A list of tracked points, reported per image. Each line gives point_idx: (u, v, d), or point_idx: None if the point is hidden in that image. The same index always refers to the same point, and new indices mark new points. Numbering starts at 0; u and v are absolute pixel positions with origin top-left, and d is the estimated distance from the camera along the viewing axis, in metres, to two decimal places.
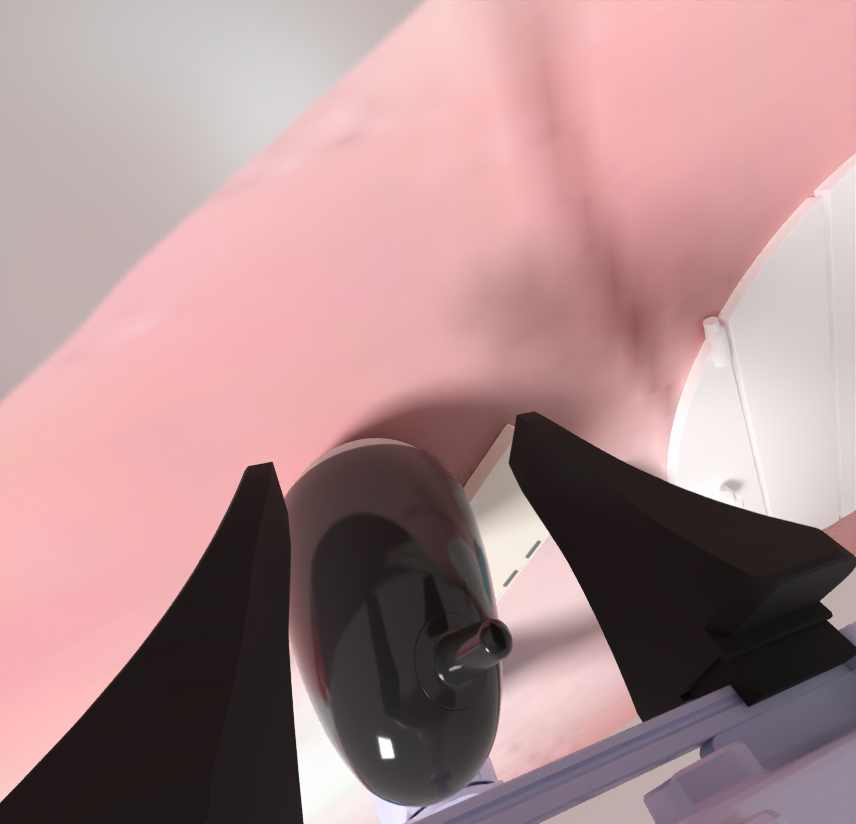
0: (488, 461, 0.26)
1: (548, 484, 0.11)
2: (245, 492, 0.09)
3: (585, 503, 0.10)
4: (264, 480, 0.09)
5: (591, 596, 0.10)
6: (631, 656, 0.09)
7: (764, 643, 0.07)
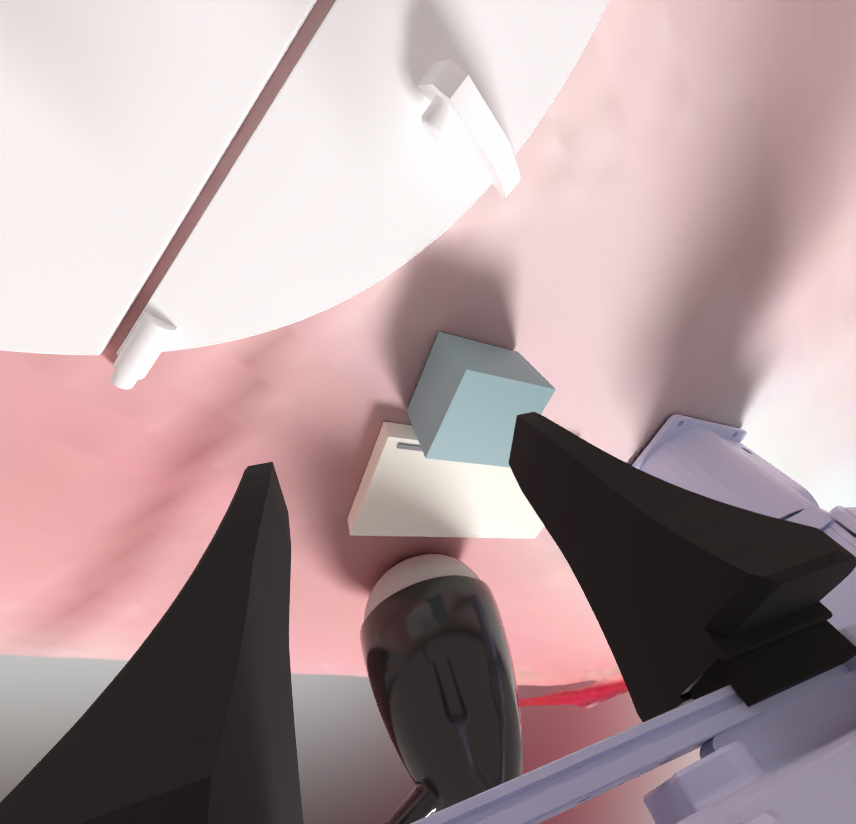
0: None
1: (548, 483, 0.11)
2: (245, 492, 0.09)
3: (585, 503, 0.10)
4: (264, 480, 0.09)
5: (590, 596, 0.10)
6: (631, 655, 0.09)
7: (764, 643, 0.07)
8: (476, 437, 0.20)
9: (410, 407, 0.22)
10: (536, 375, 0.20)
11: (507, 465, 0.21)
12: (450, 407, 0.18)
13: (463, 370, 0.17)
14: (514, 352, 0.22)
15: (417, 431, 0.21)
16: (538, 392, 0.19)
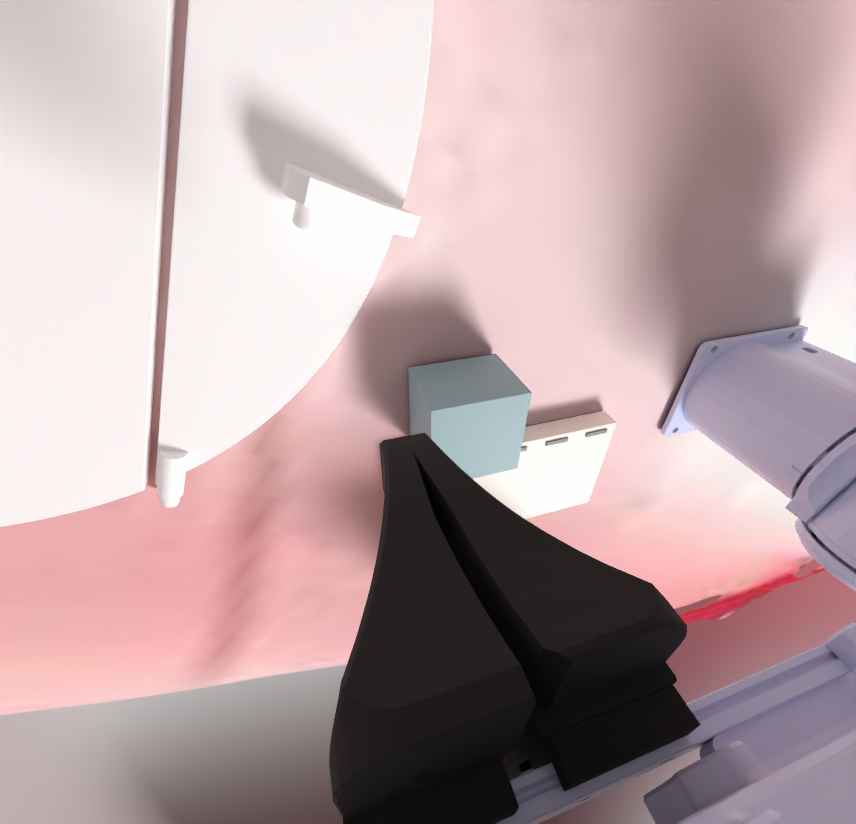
0: None
1: None
2: (396, 461, 0.10)
3: (450, 539, 0.09)
4: (407, 451, 0.10)
5: None
6: None
7: (587, 716, 0.06)
8: (470, 457, 0.20)
9: None
10: (512, 381, 0.20)
11: (515, 467, 0.22)
12: None
13: (430, 411, 0.18)
14: (491, 356, 0.22)
15: None
16: (514, 401, 0.19)
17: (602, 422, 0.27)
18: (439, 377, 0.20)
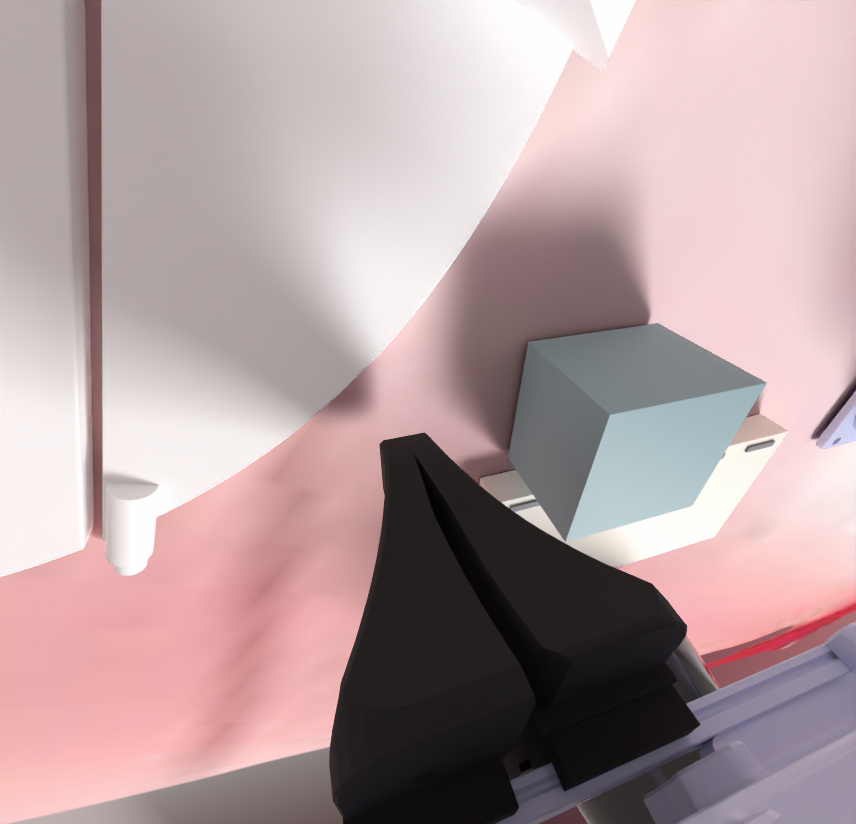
0: None
1: None
2: (396, 461, 0.10)
3: (450, 539, 0.09)
4: (407, 451, 0.10)
5: None
6: None
7: (587, 716, 0.06)
8: (638, 492, 0.12)
9: (513, 453, 0.15)
10: (717, 364, 0.12)
11: (689, 504, 0.14)
12: (591, 473, 0.11)
13: (604, 415, 0.10)
14: (653, 327, 0.14)
15: (536, 494, 0.14)
16: (736, 398, 0.11)
17: (768, 431, 0.19)
18: (589, 357, 0.12)
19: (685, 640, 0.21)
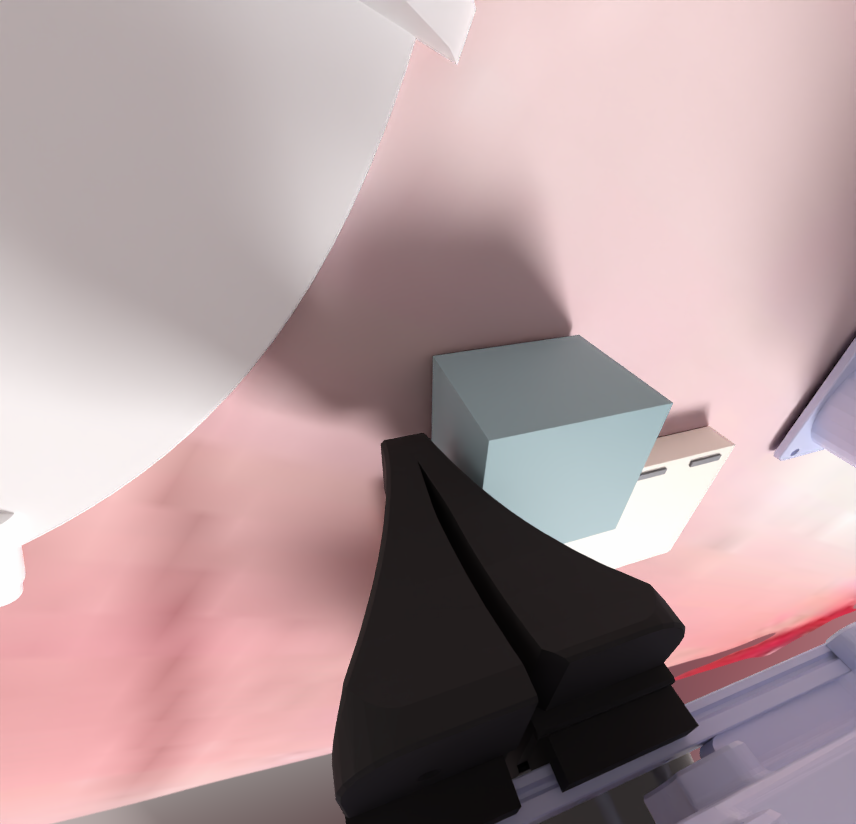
0: None
1: None
2: (397, 461, 0.10)
3: (448, 539, 0.09)
4: (408, 451, 0.10)
5: None
6: None
7: (585, 717, 0.06)
8: (546, 517, 0.11)
9: None
10: (626, 381, 0.11)
11: (612, 528, 0.13)
12: None
13: (485, 441, 0.09)
14: (573, 339, 0.13)
15: None
16: (641, 419, 0.10)
17: (713, 444, 0.18)
18: (491, 373, 0.11)
19: None
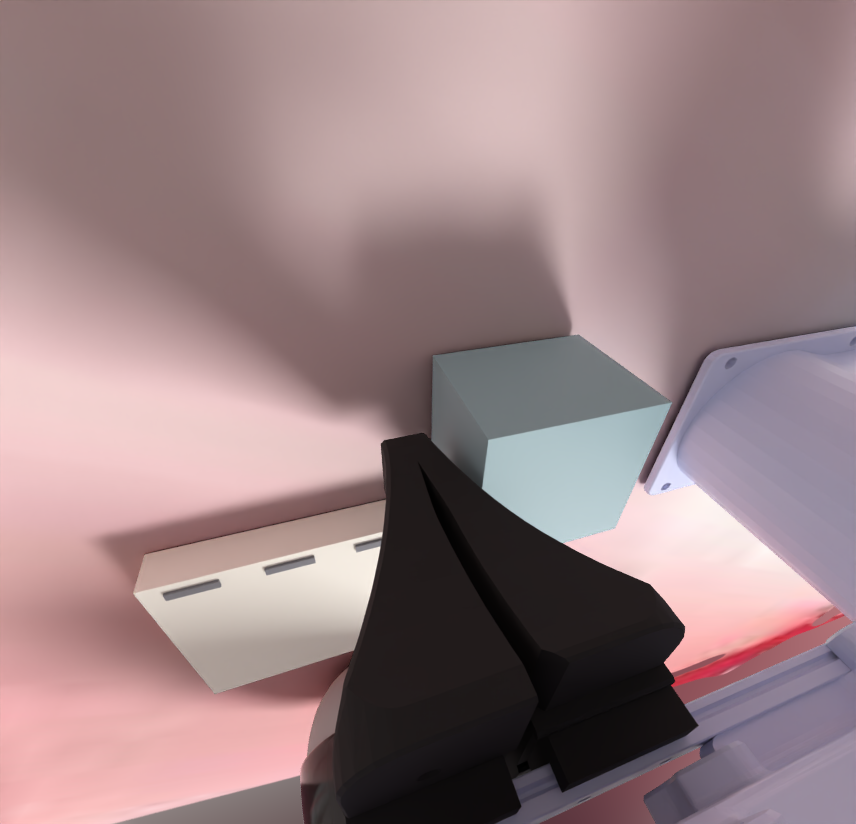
0: None
1: None
2: (397, 461, 0.10)
3: (448, 539, 0.09)
4: (408, 451, 0.10)
5: None
6: None
7: (585, 717, 0.06)
8: (546, 516, 0.11)
9: None
10: (625, 380, 0.11)
11: (611, 527, 0.13)
12: None
13: (484, 440, 0.09)
14: (572, 339, 0.13)
15: None
16: (640, 418, 0.10)
17: None
18: (491, 373, 0.11)
19: None
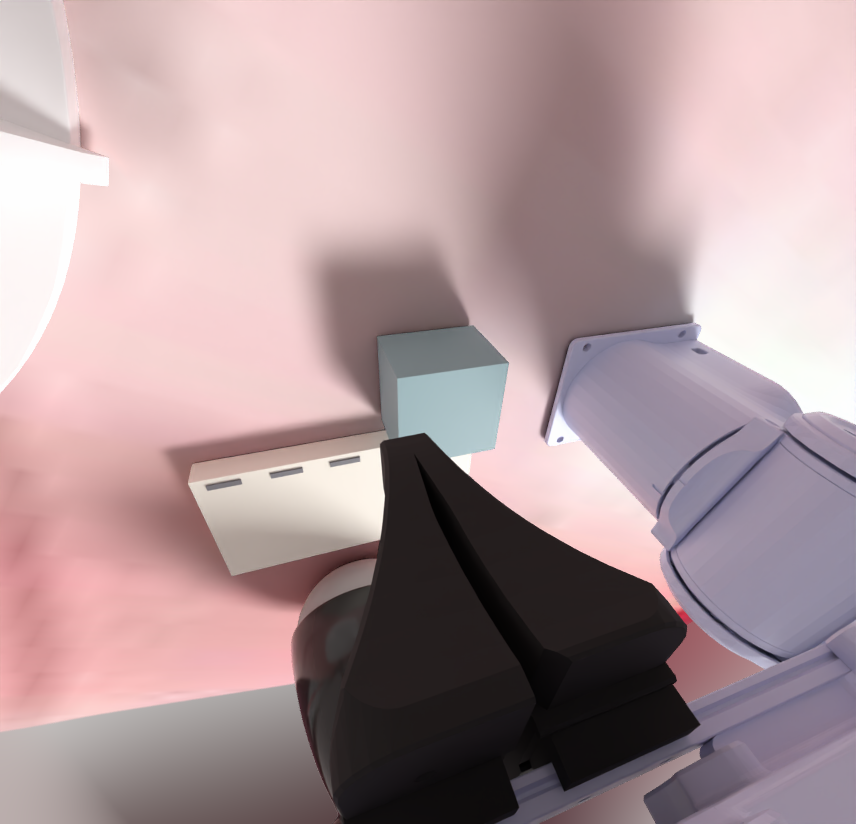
0: None
1: None
2: (396, 461, 0.10)
3: (450, 539, 0.09)
4: (407, 451, 0.10)
5: None
6: None
7: (587, 716, 0.06)
8: (443, 433, 0.19)
9: (382, 414, 0.22)
10: (488, 351, 0.18)
11: (491, 447, 0.20)
12: (399, 417, 0.17)
13: (396, 379, 0.16)
14: (468, 328, 0.20)
15: None
16: (490, 372, 0.17)
17: None
18: (410, 346, 0.18)
19: None
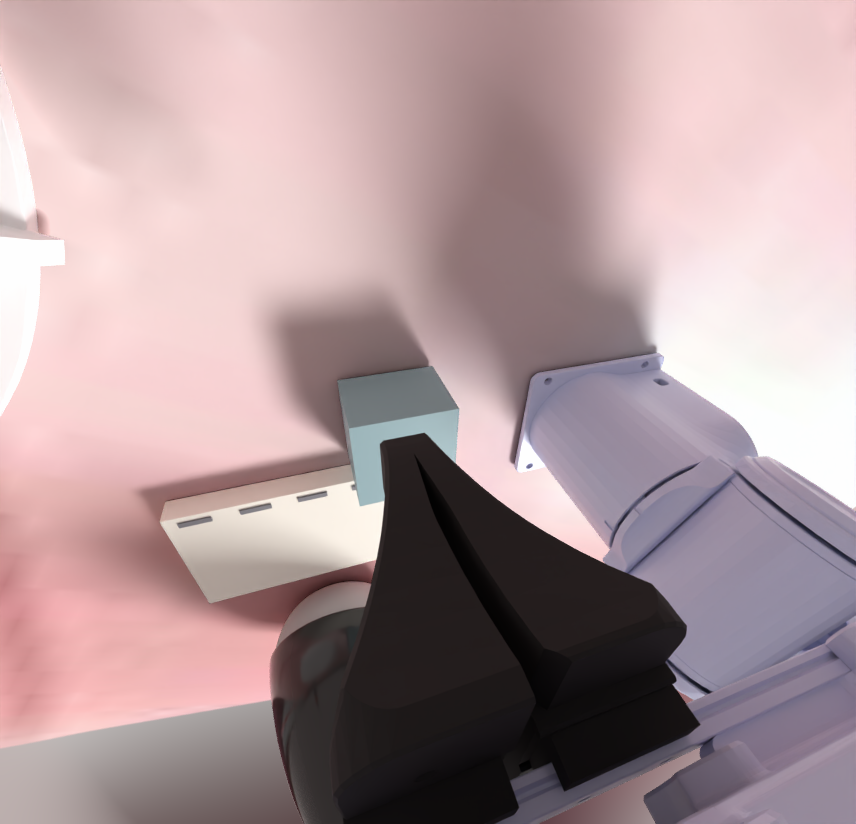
0: None
1: None
2: (396, 461, 0.10)
3: (450, 539, 0.09)
4: (407, 451, 0.10)
5: None
6: None
7: (587, 716, 0.06)
8: None
9: (348, 451, 0.23)
10: (441, 396, 0.19)
11: None
12: (355, 461, 0.18)
13: (348, 428, 0.17)
14: (426, 369, 0.21)
15: (353, 477, 0.21)
16: (441, 417, 0.18)
17: None
18: (367, 391, 0.19)
19: None
